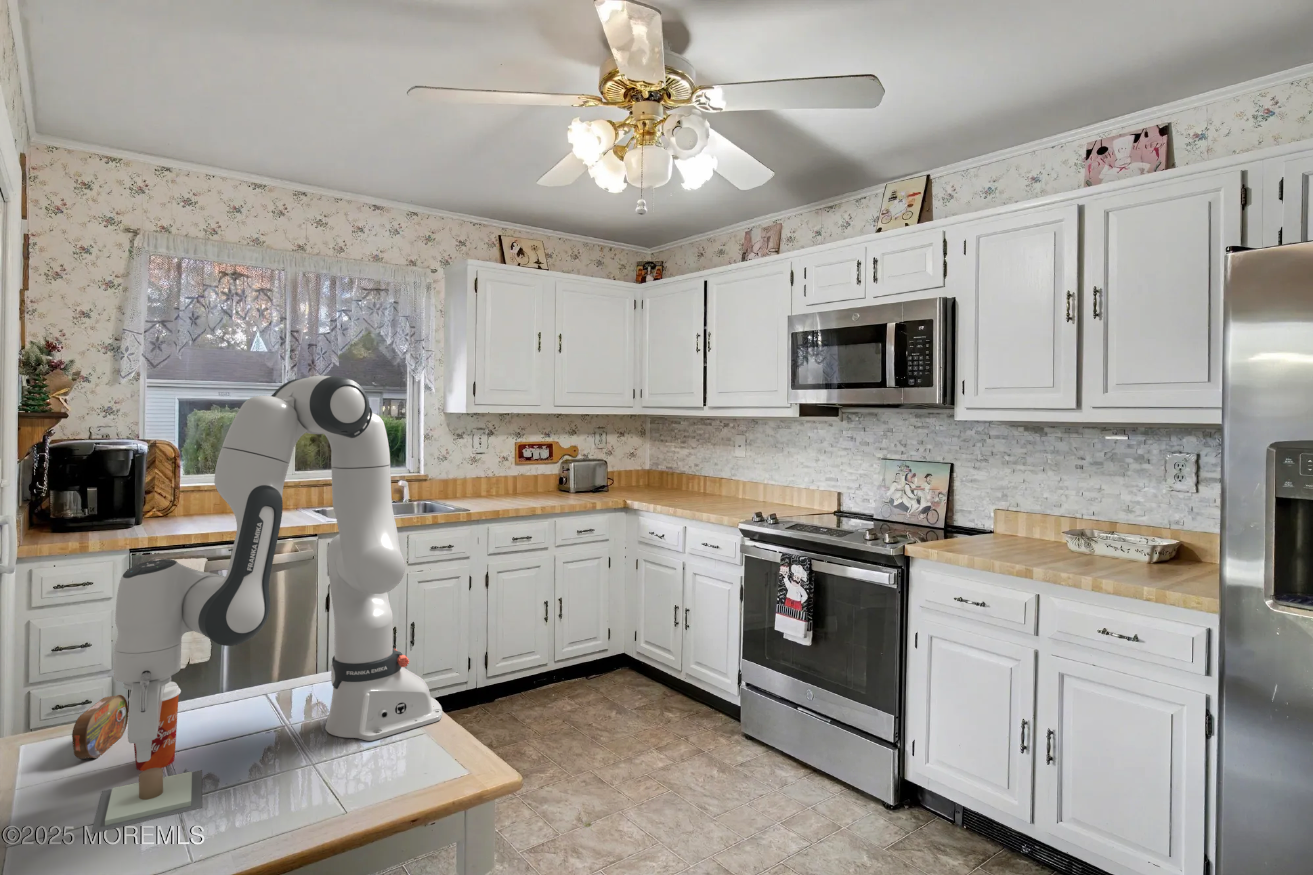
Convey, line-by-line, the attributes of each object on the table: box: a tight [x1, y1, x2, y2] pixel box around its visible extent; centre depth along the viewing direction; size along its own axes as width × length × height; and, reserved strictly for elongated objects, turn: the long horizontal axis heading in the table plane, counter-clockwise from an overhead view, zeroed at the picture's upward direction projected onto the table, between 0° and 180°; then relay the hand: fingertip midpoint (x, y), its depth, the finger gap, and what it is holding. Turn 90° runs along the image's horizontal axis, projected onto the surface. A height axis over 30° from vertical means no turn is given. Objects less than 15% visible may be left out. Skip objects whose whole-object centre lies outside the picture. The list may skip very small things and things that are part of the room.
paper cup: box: [127, 681, 182, 772], centre depth 129 cm, size 8×8×14 cm
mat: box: [90, 769, 203, 835], centre depth 117 cm, size 14×14×1 cm
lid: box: [105, 768, 193, 826], centre depth 117 cm, size 11×11×4 cm
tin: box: [71, 694, 129, 760], centre depth 135 cm, size 15×3×8 cm, turn 13°
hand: (145, 747), depth 116 cm, fingers open, 8 cm apart
